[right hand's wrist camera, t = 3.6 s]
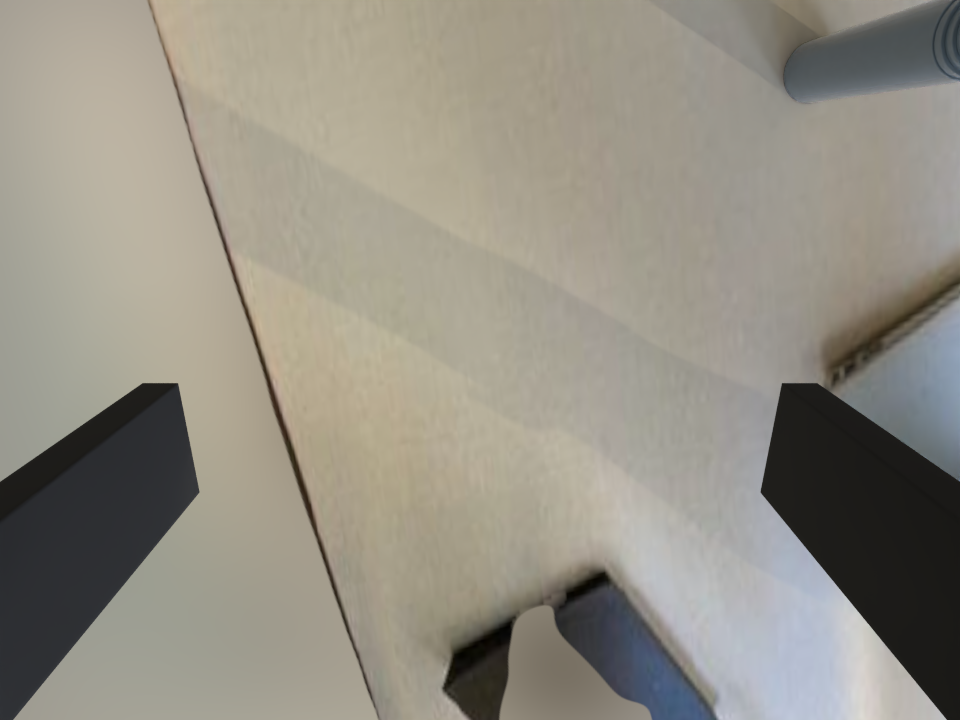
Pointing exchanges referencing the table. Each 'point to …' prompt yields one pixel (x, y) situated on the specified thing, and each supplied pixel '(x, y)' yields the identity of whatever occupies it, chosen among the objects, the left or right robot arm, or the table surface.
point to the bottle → (880, 55)
